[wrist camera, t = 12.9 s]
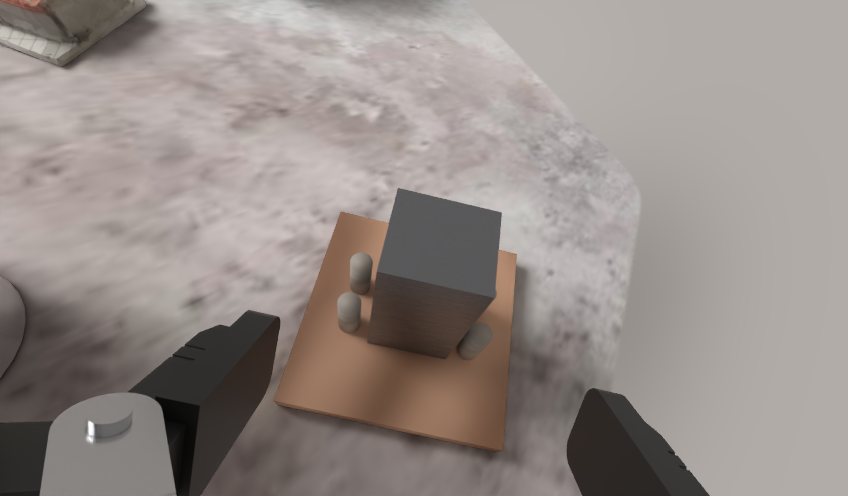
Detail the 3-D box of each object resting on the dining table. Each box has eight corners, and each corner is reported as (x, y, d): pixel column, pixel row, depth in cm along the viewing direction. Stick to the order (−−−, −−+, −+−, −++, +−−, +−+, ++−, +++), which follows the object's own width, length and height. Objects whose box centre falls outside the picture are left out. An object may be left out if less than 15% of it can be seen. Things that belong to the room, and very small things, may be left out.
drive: (366, 342, 23) (376, 271, 15) (382, 278, 25) (398, 186, 17) (445, 359, 23) (494, 298, 15) (454, 294, 25) (501, 210, 17)
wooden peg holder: (277, 404, 21) (263, 389, 18) (341, 221, 28) (340, 182, 24) (496, 451, 22) (524, 446, 18) (510, 262, 28) (534, 230, 25)
